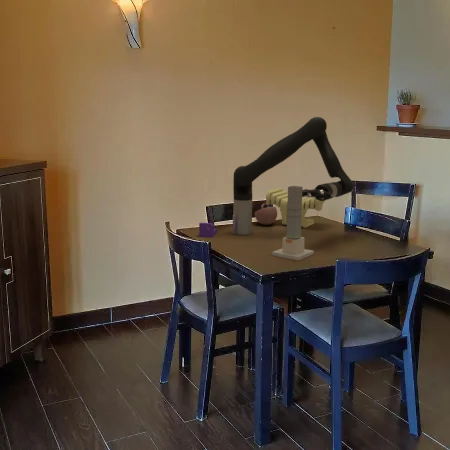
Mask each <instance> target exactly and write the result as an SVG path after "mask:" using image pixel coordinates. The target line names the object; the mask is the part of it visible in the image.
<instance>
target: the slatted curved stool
mask: <svg viewBox="0 0 450 450" xmlns="http://www.w3.org/2000/svg"><path fill="white" fill-rule="evenodd" d="M324 203H325V201H319V200H316V198H313V197H311V198H308V197H302V216H301V228H308V227H310V226H311V225H314V224H315V220H314V219H313V218H312V219H310V218H308V219H307V218H305V215H306V213H307V211H308V210H309V209H310V210H315V211H317V212H319V211H322V209H323V205H324ZM266 205H271V206H273V205H274V206H275V207H276V208H279V210H280V215H281V225H283V226H287V205H288V191H286V190H284V189H283V188H282V187H275V188H270V189H269V190H268V191H267V192H266V197H265V206H266Z"/></svg>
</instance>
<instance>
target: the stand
mask: <svg viewBox="0 0 450 450" xmlns="http://www.w3.org/2000/svg"><path fill="white" fill-rule="evenodd" d="M281 245H282V248H280V249H276V250H274V251H272V252H271V254H272V255H271V256H274V257H277V258H279V257H280V258H284V259H289V260H293V261H297V262H298V261H301V260H304V259H306V258H308V257H310V256H313V255H314V253H315V250H311V249H306V248H305V237H303V236H301V238H298V239H290V238H287V237H286V236H285V237H282V244H281Z"/></svg>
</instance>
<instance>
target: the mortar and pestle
mask: <svg viewBox="0 0 450 450" xmlns="http://www.w3.org/2000/svg"><path fill="white" fill-rule="evenodd" d="M264 206H266V202H263V203H262V204H260V209H258V210H256V211H255V212H254V218H255V219H256V221H257V223H259V224H260V225H264V226H267V225H272V224H273V223H274V222H275V221H276V220H277V218H278V210H277V206H275V205H274V206H273V205H271V206H267V207H264Z"/></svg>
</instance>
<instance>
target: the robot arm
mask: <svg viewBox="0 0 450 450" xmlns="http://www.w3.org/2000/svg"><path fill="white" fill-rule="evenodd" d="M327 126H328V125H327V122H326V120H325V118H322V117H321V116H320V117H319V116H315V117H312V118H310V119H309V120H308V121H307V122H306V123H305V124H303V126H301V127H300V128H299V129H297V130H295V132H292V133H291V134H289V135H286V136H285V137H282V138H281V139H280V140H278V141H276V142H275V143H273V144H272V145H271V146H269V147H268V148H267V149H266V150H264V152H262V153H261V154H260V156H258V157H257V158H256V159H255V160H254V161H252V162H250V163H248V164H247V165H241V166H238V167H237V168H236V169H235V170H234V172H233V181H232V183H233V188H232V189H233V213H232V214H233V215H232V234H233V235H237V236H248V235H251V234H252V232H253V182H254V181H255V180H257V179H258V178H259V177H260V176H261V175H263V174H264V173H265V172H267V171H269V170H271V169H273V168H274V167H276V166H277V165H279V164H281V163H282V162H284V161H286V160H287V159H288V158H290V157H291V156H292V155H293V154H295V153H297V151H298V150H299V149H300V148H302V147H303V146H304V145H305V144H307V143H309V142H310V141H313V142H314V144H315V146H316V147H317V150H318V152H319V154H320V157H321V159H322V162H323V164H324V166H325V169H326V172H327V174H328V176H329V177H330V178H331V179H333V178H334V179H335V178H338V179H339V180H338V181H333V182H326V183H321V184H317V185H316V186H315V188H312V189H308V188H305V189H302V198H308V199H309V198H316V200H319V201H324V202H325V201H327V200H332V199H333V198H338V197H339V198H340V197H342V196H344V195H347V194H349V193H352V192H353V191H354V187H355V185H354V182H353V181H352V179H351V178H350V176H348V174H347V173H346V172H345V170H344V168H343V167H342V165H341V163H340V160H339V158H338V156H337V154H336V152H335V151H334V149H333V146H332V145H331V142H330V141H329V138H328V134H327Z"/></svg>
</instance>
